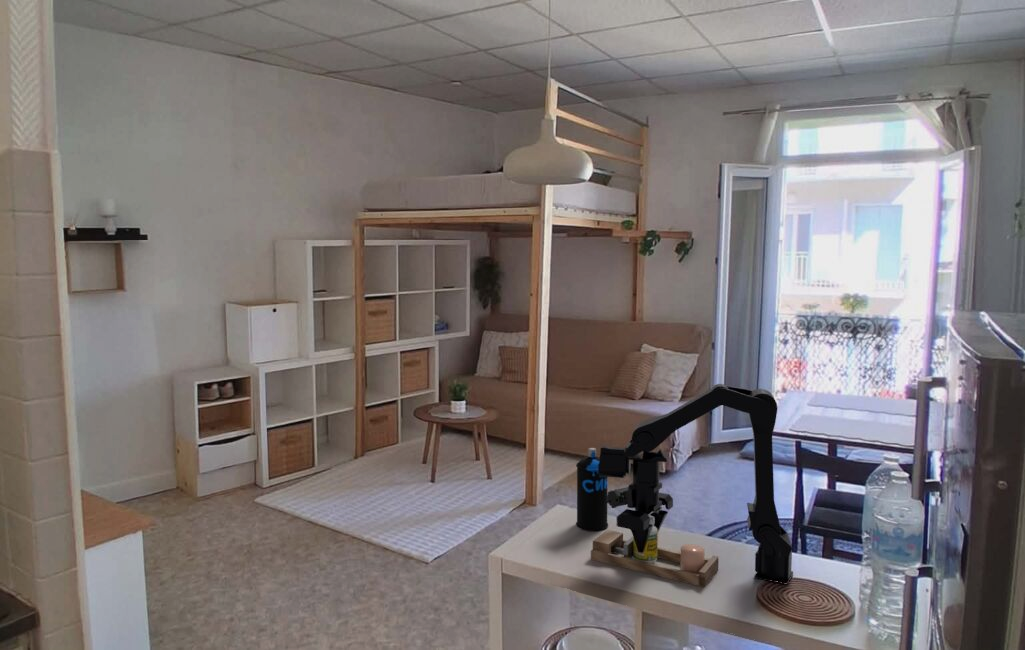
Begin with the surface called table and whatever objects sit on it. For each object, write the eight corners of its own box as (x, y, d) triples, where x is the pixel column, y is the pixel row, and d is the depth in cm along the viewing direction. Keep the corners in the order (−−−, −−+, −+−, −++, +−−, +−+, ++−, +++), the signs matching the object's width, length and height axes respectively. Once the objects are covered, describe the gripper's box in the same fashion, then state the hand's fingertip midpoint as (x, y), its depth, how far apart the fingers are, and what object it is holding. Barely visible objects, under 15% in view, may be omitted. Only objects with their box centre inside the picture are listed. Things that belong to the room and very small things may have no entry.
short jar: (707, 572, 150) (707, 547, 150) (700, 580, 146) (700, 555, 145) (684, 567, 153) (684, 542, 152) (677, 575, 148) (677, 550, 148)
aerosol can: (571, 521, 180) (571, 446, 179) (600, 518, 183) (600, 443, 181) (583, 533, 172) (583, 454, 171) (613, 529, 175) (614, 451, 173)
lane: (718, 569, 151) (718, 552, 151) (704, 587, 143) (704, 568, 143) (608, 544, 165) (609, 528, 165) (590, 559, 157) (590, 541, 157)
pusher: (640, 553, 159) (640, 534, 159) (627, 564, 153) (627, 544, 153) (612, 547, 163) (612, 528, 163) (598, 557, 157) (599, 538, 157)
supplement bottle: (642, 552, 159) (642, 511, 158) (662, 559, 155) (662, 517, 154) (628, 559, 155) (628, 517, 154) (648, 566, 151) (648, 523, 150)
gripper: (628, 464, 166) (628, 527, 167) (594, 484, 150) (594, 554, 151) (674, 470, 160) (673, 536, 161) (642, 493, 144) (642, 565, 145)
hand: (645, 547), depth 155 cm, fingers closed on supplement bottle, 5 cm apart
